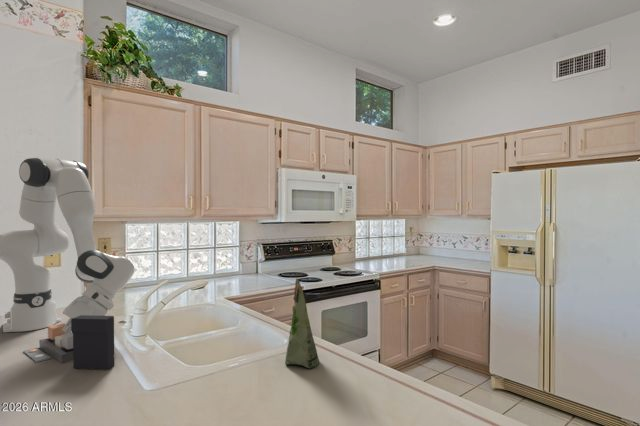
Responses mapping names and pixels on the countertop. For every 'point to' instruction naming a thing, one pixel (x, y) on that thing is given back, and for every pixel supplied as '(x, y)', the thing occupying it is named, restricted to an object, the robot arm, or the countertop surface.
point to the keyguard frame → (56, 350)
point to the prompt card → (36, 355)
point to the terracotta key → (55, 330)
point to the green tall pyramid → (301, 334)
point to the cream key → (58, 341)
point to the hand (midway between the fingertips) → (64, 332)
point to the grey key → (67, 340)
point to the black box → (93, 342)
